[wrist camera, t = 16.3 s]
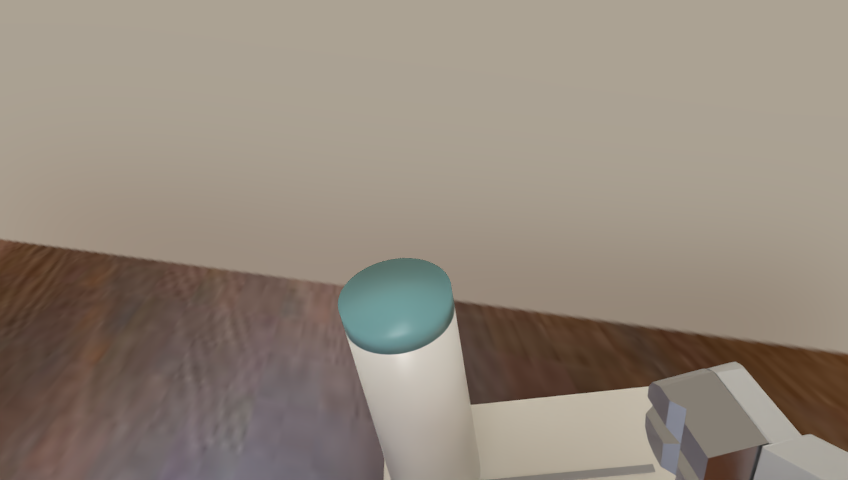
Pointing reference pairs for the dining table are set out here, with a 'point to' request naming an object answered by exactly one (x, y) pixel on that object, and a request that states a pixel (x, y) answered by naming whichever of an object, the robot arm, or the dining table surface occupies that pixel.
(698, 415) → the robot arm
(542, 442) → the paper
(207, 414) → the dining table surface
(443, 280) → the marker
